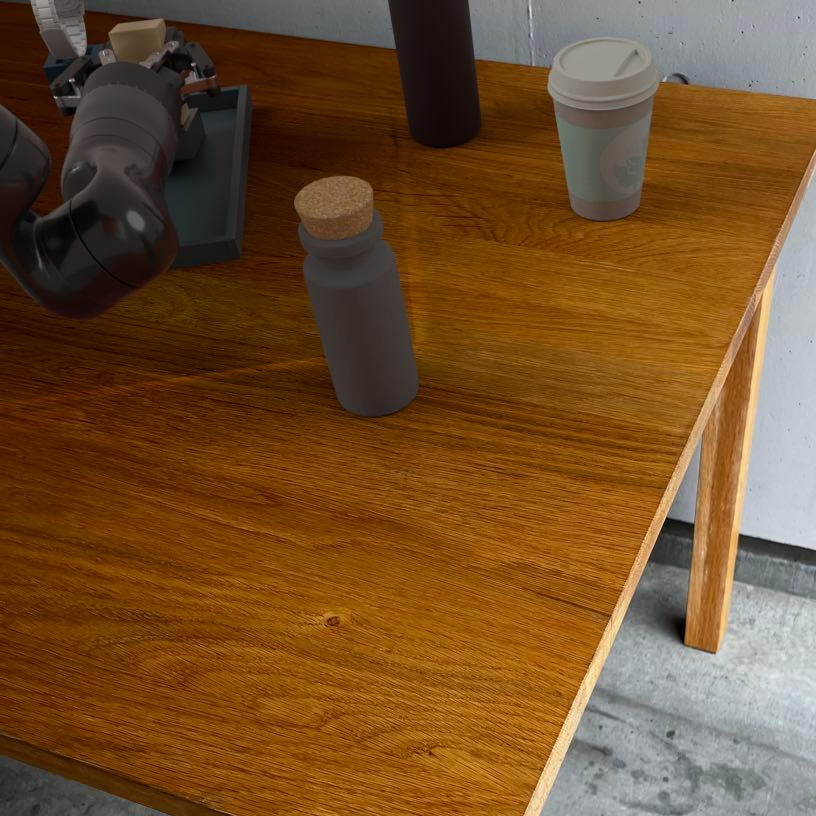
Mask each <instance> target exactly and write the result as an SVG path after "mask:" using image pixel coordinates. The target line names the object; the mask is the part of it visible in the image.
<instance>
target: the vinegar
mask: <svg viewBox="0 0 816 816" xmlns="http://www.w3.org/2000/svg"><path fill="white" fill-rule="evenodd" d="M387 3H388V9H389V15H390V21H391V27H392V34H393V40H394V46H395V52H396V59H397V65H398V71H399V77H400V83H401V90H402V95H403V103H404V108H405V115H406V121H407V126H408V132H409V134H410V136H411V138H412V139H413V140H415V141H416V142H417V143H420V144H421V145H425V146H428V147H436V148H437V147H438V148H445V147H452V146H453V147H454V146H457V145H462V144H464V143H465V142H466V143H467V142H468V141H470V140H472V139H473V138H474V137H476V136H477V135H478V133H479V132H480V130H481V129H482V113H481V112H482V111H481V102H480V94H479V85H478V84H479V83H478V77H477V76H478V74H477V65H476V55H475V47H474V39H473V29H472V20H471V11H470V10H471V9H470V2H469V0H387Z"/></svg>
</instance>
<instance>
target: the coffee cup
mask: <svg viewBox="0 0 816 816" xmlns="http://www.w3.org/2000/svg"><path fill="white" fill-rule="evenodd" d="M551 66H552V67H551V69H550V72H549V74H548V82H547V92H548V93H549V95H550V96H551V98H552V102H553V108H554V114H555V120H556V121H555V122H556V126H557V132H558V138H559V146H560V150H561V151H560V152H561V156H562V161H563V169H564V175H565V180H566V186H567V191H568V197H569V202H570V207H571V209H572V210H573V212H574V213H576V214H577V215H578V216H580V217H582V218H585V219H588V220H591V221H598V222H599V221H600V222H602V221H603V222H606V221H609V222H610V221H615V220H619V219H622V218H625V217H628V216H630V215H631V214H633V213H634V212H635V211H636V210H637V209H638V208H639V206H640V205H641V204H640V203H641V198H642V191H643V183H644V177H645V168H646V161H647V155H648V154H647V153H648V144H649V138H650V129H651V121H652V115H653V108H654V107H653V106H654V101H655V100H654V99H655V93H656V92H657V90H658V89H659V86H660V77H659V70H658V67H657V66H656V64H655V61H654V57H653V53H652V51H651V50H650V49H649V48H648V47H647V46H646V45H645V44H643V43H641V42H639V41H636V40H633V39H628V38H623V37H613V36H611V37H610V36H605V37H603V36H602V37H591V38H586V39H582V40H578V41H575V42H573V43H570V44H568V45H566V46H564V47H563V48H561V49H560V50H559V51H558V52H557V53H556V54H555V56H554V58H553V61H552V65H551Z"/></svg>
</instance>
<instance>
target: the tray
mask: <svg viewBox="0 0 816 816" xmlns="http://www.w3.org/2000/svg"><path fill="white" fill-rule="evenodd" d="M220 88H221V91H222V94H221V95H220V96H218V97H214V98H211V97H208V96H207V94H206V92H204V93H200V92H195V93H191V94H190V97H189V100H188V102H187V105H188V108H189V109H192V108H199V111H200V115H201V119H202V122H203V126H204V129H205V133H206V134H205V136H204V138H203V141H202V143H201V145H200V147H199V149H198V151H197V153H196V156H195V158H194V159H188V160H180V161H174V164H173V167H172V170H171V172H170V174H169V176H168V179H167V184H166V190H165V199H166V202H167V205H168V209H169V212H170V215H171V218H172V220H173V222H174V225H175V227H176V230H177V233H178V237H179V249H178V252H177V255H176V257H175V259H174V261H173V263H172V264H171V266H170V267H169V269H168V270H172V269H178V268H186V267H187V268H188V267H193V266H201V265H206V264H215V263H222V262H229V261H236V260H241V259H242V250H243V238H244V237H243V235H244V222H245V209H246V208H245V207H246V195H247V183H248V170H249V169H248V166H249V153H250V142H251V141H250V139H251V129H252V128H251V126H252V112H254V111H255V108H254V104H253V99H252V96H251V92H250V89H249V85H248V84H239V85H231V86H225V87H223V86H222V87H220Z"/></svg>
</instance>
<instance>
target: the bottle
mask: <svg viewBox="0 0 816 816" xmlns="http://www.w3.org/2000/svg"><path fill="white" fill-rule="evenodd" d="M293 202H294V208H295V211H296V212H297V214H298V216H299V218H300V222H299V225H298V229H297V231H298V232H297V233H298V238H299V242H300V244H301V246H302V248H303V250H304V251H305V252H307V255H306V257H305V258H304V260H303V264H302V274H303V278H304V282H305V286H306V290H307V294H308V298H309V301H310V305H311V308H312V312H313V315H314V319H315V322H316V323H315V324H316V327H317V331H318V334H319V337H320V341H321V345H322V349H323V352H324V356H325V359H326V363H327V367H328V370H329V374H330V377H331V380H332V384H333V387H334V391H335V395H336V398H337V401H338V403H339V404H340V405H341V406H342V408H343V409H344V410H346V411H347V412H349V413H351V414H354V415H357V416H361V417H371V418H374V417H383V416H388V415H391V414H394V413H396V412H398V411H400V410H402V409H403V408H405V407H407V406H408V405H409V404H411V402H412V401H414V399H415V398H416V396H417V394H418V392H419V389H420V379H419V372H418V366H417V362H416V357H415V352H414V351H415V350H414V347H413V345H414V344H413V340H412V335H411V331H410V325H409V320H408V315H407V309H406V305H405V300H404V293H403V289H402V284H401V279H400V278H401V277H400V275H399V269H398V265H397V259H396V255H395V252H394V250H393V248H392V246H390V244H389V243H387V242H386V241H385V240H383V239H382V238H383V235H384V222H383V219H382V216H381V213H380V211H378V209H377V208H375V207H374V189H373V187H372V185H371V184H370V183H369V182H367V181H366V180H364V179H362V178H359V177H356V176H348V175H338V176H337V175H336V176H329V177H324V178H320V179H318V180H315V181H313V182H310V183H309V184H307V185H305V186H304V187H303V188H301V189H300V190H299V191H298V192H297V194H296V196H295V197H294V201H293Z"/></svg>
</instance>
